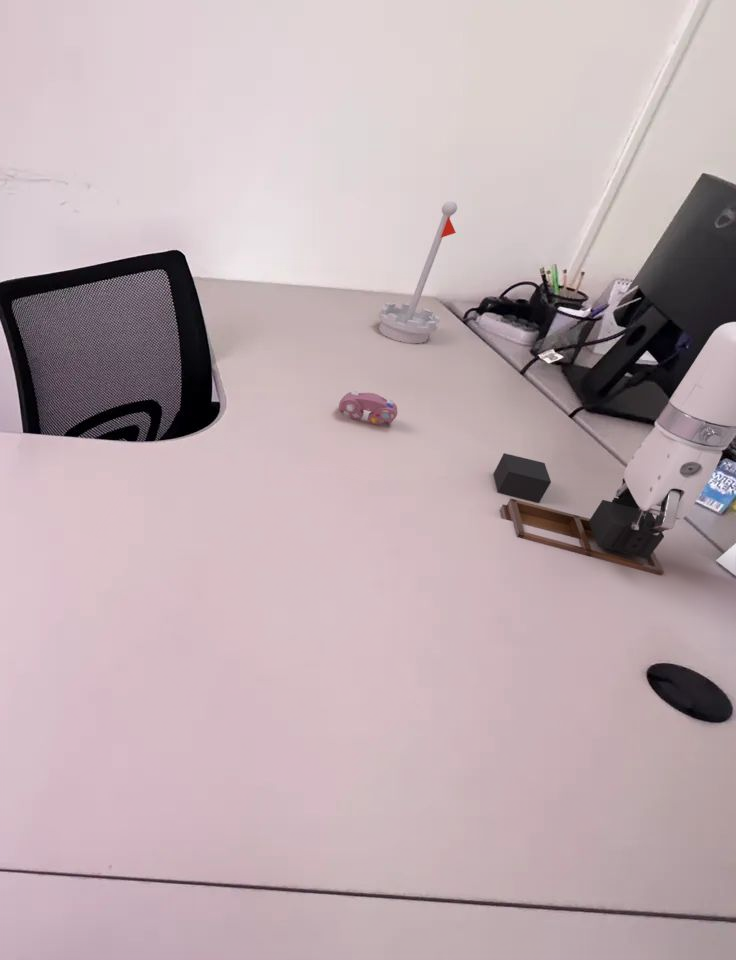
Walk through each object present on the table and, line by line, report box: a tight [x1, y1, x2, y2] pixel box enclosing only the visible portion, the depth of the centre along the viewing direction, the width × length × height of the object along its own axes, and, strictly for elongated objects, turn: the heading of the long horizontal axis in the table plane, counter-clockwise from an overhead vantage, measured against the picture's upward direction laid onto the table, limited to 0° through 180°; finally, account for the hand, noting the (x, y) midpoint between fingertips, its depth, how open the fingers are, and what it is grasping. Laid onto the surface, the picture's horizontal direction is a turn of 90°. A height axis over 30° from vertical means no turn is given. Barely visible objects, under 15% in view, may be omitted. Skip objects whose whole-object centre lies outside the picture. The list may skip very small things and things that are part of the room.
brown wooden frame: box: [499, 498, 665, 576], centre depth 95 cm, size 18×10×2 cm, turn 69°
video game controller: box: [338, 390, 398, 425], centre depth 120 cm, size 10×5×7 cm, turn 68°
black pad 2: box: [589, 499, 665, 560], centre depth 92 cm, size 6×6×4 cm
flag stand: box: [378, 200, 458, 345], centre depth 152 cm, size 13×13×30 cm
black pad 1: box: [493, 452, 552, 504], centre depth 106 cm, size 6×6×4 cm
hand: (619, 536), depth 93 cm, fingers closed on black pad 2, 6 cm apart
